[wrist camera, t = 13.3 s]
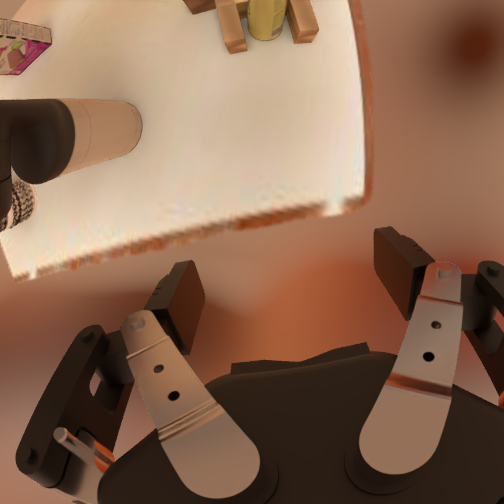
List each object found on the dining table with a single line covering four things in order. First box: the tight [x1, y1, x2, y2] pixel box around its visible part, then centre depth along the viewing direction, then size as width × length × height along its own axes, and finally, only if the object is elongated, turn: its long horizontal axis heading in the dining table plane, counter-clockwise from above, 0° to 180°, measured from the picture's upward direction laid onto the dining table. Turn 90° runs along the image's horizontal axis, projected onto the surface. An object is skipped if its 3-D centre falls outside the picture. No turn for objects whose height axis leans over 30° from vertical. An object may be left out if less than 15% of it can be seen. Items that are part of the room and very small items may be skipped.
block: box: [214, 0, 319, 54], centre depth 26 cm, size 12×8×6 cm, turn 102°
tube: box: [248, 0, 286, 40], centre depth 20 cm, size 6×5×20 cm
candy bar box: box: [0, 19, 52, 75], centre depth 20 cm, size 11×5×16 cm, turn 107°
